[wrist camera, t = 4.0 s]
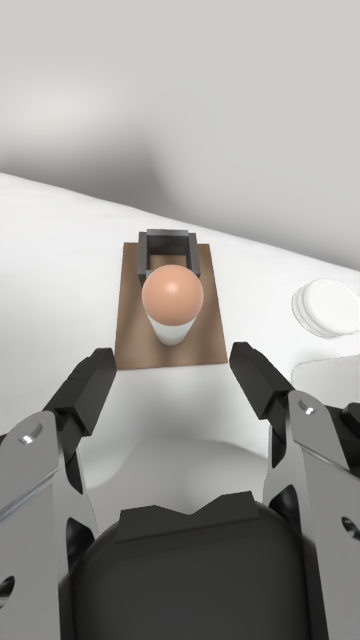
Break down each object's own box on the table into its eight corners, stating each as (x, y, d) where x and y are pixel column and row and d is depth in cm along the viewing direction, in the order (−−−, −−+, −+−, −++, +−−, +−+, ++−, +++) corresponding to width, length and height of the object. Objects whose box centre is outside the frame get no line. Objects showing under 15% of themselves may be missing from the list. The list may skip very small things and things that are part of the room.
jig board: (116, 369, 19) (98, 371, 14) (125, 247, 26) (115, 220, 21) (224, 362, 21) (242, 362, 16) (207, 248, 27) (215, 223, 22)
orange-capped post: (156, 346, 19) (132, 316, 7) (156, 317, 21) (136, 248, 8) (186, 345, 20) (216, 314, 7) (184, 317, 21) (206, 249, 9)
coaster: (342, 298, 26) (367, 289, 23) (343, 346, 23) (372, 343, 20) (292, 280, 27) (310, 268, 23) (287, 325, 24) (306, 319, 20)
